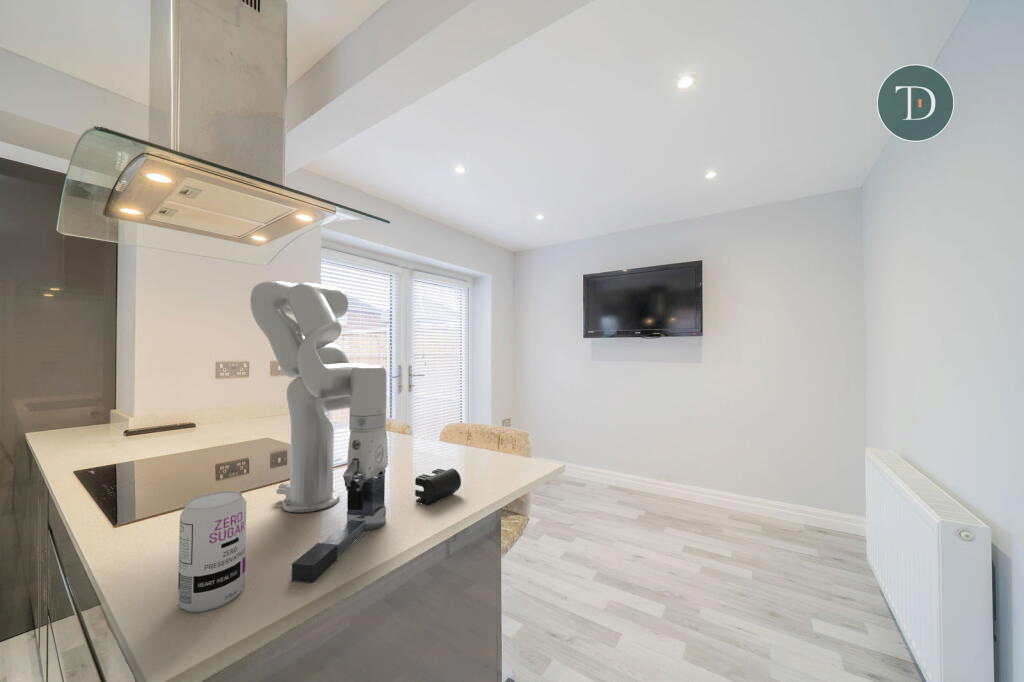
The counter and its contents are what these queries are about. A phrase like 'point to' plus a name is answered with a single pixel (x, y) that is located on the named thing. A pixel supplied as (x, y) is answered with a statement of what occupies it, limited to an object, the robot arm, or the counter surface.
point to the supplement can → (211, 550)
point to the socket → (371, 496)
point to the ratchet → (334, 546)
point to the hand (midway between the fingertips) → (366, 500)
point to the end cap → (437, 485)
